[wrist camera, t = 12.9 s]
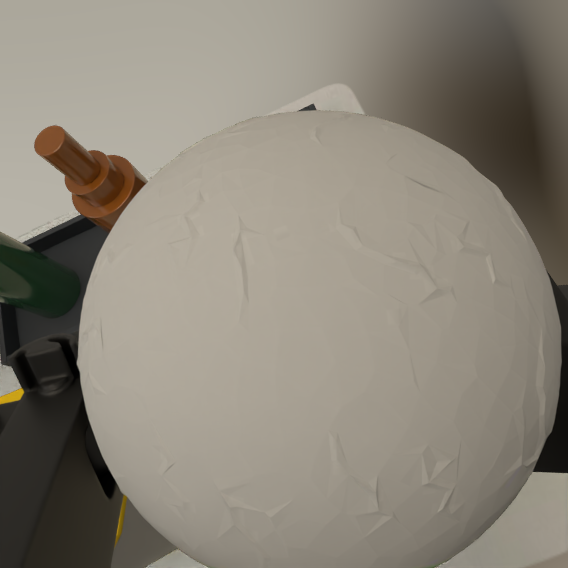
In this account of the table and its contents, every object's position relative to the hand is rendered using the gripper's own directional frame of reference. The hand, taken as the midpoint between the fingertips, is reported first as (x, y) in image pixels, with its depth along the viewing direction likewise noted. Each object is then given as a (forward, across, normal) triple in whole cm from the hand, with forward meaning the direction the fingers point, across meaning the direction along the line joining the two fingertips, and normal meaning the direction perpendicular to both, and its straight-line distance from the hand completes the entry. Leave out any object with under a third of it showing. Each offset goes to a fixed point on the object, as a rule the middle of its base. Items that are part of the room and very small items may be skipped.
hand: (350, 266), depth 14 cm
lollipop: (+2, 0, -6) cm, 7 cm away
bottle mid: (+28, -21, -8) cm, 36 cm away
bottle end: (+24, -33, -12) cm, 43 cm away
